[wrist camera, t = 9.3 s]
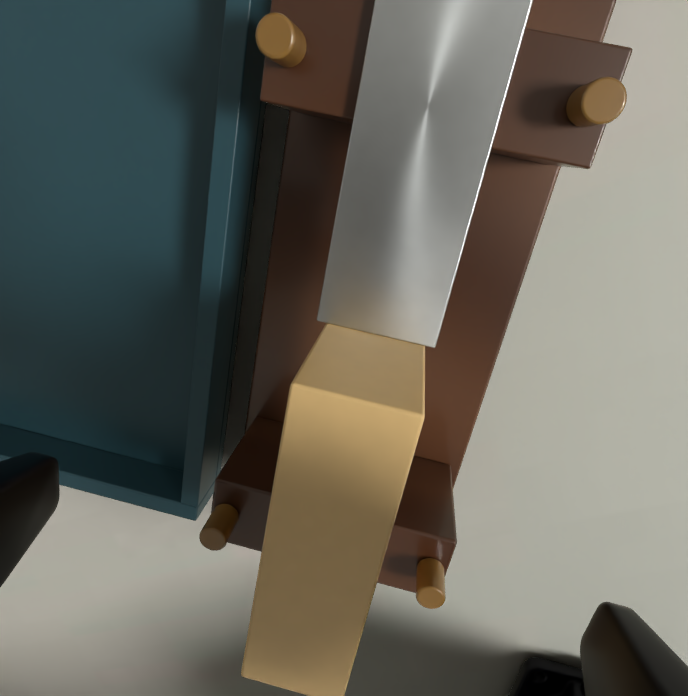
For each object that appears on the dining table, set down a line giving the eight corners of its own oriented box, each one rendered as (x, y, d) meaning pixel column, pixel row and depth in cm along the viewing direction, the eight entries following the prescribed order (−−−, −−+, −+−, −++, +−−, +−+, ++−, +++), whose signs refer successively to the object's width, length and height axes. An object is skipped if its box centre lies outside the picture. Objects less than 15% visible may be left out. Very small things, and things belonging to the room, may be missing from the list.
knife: (367, 582, 14) (350, 709, 11) (274, 557, 14) (230, 674, 11) (586, -199, 8) (695, -435, 5) (418, -225, 8) (413, -471, 5)
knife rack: (439, 509, 18) (444, 649, 13) (247, 460, 18) (179, 577, 13) (635, -87, 12) (798, -275, 7) (334, -140, 12) (267, -352, 7)
